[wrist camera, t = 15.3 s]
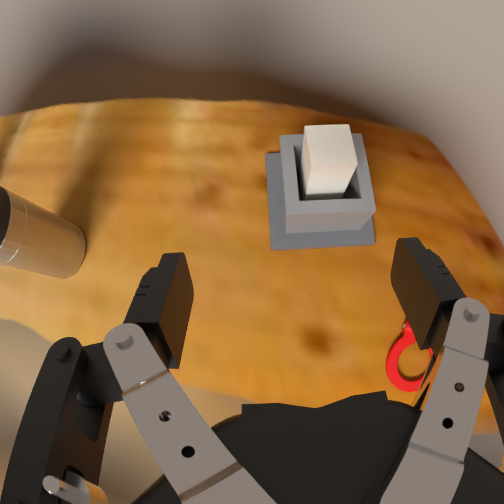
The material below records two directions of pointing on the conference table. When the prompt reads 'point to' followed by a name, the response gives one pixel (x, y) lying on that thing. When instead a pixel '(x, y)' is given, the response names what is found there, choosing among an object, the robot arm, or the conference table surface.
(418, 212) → the conference table surface
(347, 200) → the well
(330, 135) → the white square block
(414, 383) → the tow hook
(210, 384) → the conference table surface
